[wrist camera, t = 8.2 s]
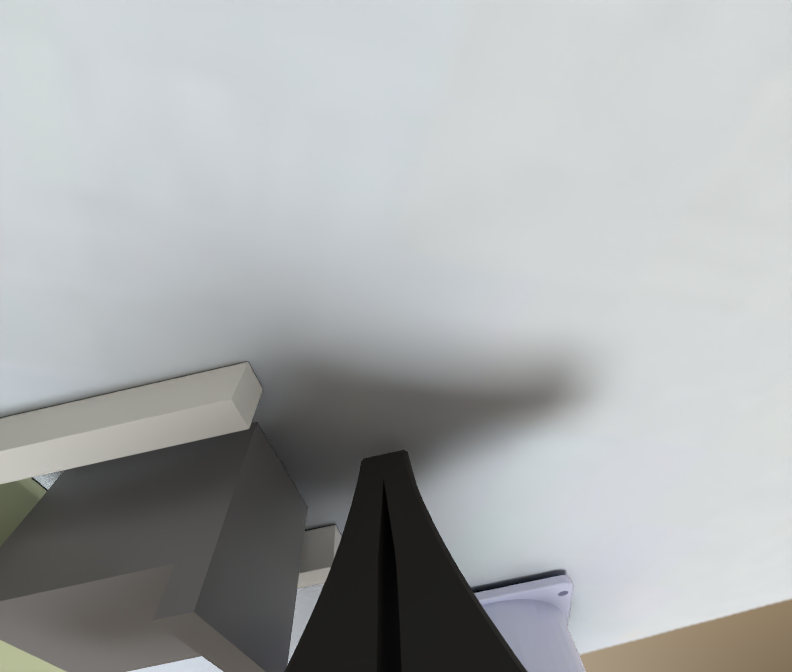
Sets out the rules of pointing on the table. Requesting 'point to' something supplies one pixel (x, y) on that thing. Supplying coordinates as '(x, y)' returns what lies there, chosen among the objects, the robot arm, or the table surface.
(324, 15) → the table surface
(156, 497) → the grey overhanging lid block
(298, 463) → the table surface
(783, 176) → the table surface
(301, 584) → the green post base
